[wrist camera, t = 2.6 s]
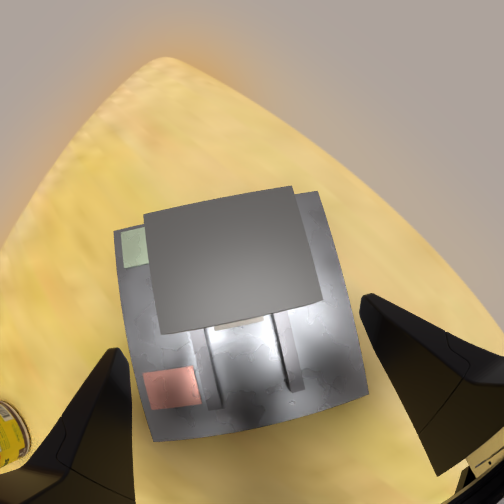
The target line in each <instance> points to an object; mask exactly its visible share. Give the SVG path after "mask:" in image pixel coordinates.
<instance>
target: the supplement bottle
mask: <svg viewBox="0 0 504 504" xmlns="http://www.w3.org/2000/svg"><path fill="white" fill-rule="evenodd" d="M29 446H30V441H29V435H28V432H27V429H26V427H25V425H24V423H23V421H22V419H21V418H20V416H19V415H18V413H17V412H16V411H15V410H14V409H13V408H12V407H11V406H10V405H8V404H7V403H5V402H2V401H0V468H1V467H3V466H5V465H7V464H9V463H11V462H13V461H16V460H18V459H20V458H22V457H23V456H25V455H26V454H27V452H28V450H29Z"/></svg>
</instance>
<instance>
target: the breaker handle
mask: <svg viewBox="0 0 504 504" xmlns="http://www.w3.org/2000/svg"><path fill="white" fill-rule="evenodd" d="M143 216H144V226H145V236H146V244H147V253H148V260H149V268H150V275H151V282H152V288H153V294H154V301H155V306H156V312H157V318H158V323H159V328H160V333H161V335H166V334H175V333H181V332H187V331H192V330H198V329H203V328H208V327H213V326H214V330H215V331H218V330H223V329H228V328H233V327H237V326H242V325H247V324H251V323H256V322H260V321H264V317H263V316H265V315H270V314H274V313H278V312H283V311H287V310H291V309H295V308H299V307H303V306H307V305H311V304H314V303H317V302H320V301H323V296H322V292H321V288H320V284H319V280H318V276H317V273H316V269H315V265H314V261H313V258H312V254H311V250H310V246H309V243H308V239H307V236H306V232H305V229H304V225H303V222H302V218H301V215H300V211H299V208H298V205H297V201H296V198H295V195H294V191H293V188H292V186H286V187H280V188H274V189H268V190H262V191H256V192H250V193H245V194H239V195H234V196H228V197H223V198H218V199H213V200H208V201H203V202H198V203H193V204H188V205H183V206H179V207H174V208H170V209H165V210H161V211H156V212H152V213H147V214H143Z"/></svg>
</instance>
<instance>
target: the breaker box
mask: <svg viewBox="0 0 504 504" xmlns="http://www.w3.org/2000/svg"><path fill="white" fill-rule="evenodd" d="M295 198H296V201H297V205H298V208H299V211H300V215H301V218H302V222H303V225H304V229H305V232H306V236H307V239H308V243H309V246H310V250H311V254H312V258H313V261H314V265H315V269H316V273H317V276H318V280H319V284H320V288H321V292H322V296H323V301H320V302H317V303H314V304H311V305H307V306H303V307H299V308H295V309H291V310H287V311H283V312H278V313H274V314H270V315H265V316H263V317H264V321H260V322H256V323H251V324H247V325H242V326H237V327H233V328H228V329H223V330H218V331H215V330H214V326H213V327H208V328H203V329H198V330H192V331H187V332H181V333H175V334H166V335H161V333H160V328H159V323H158V318H157V312H156V306H155V301H154V294H153V288H152V282H151V275H150V268H149V260H148V253H147V244H146V236H145V226H144V224H142V225H138V226H133V227H129V228H125V229H121V230H117V231H114V244H115V256H116V266H117V275H118V284H119V292H120V299H121V306H122V312H123V318H124V324H125V330H126V336H127V341H128V346H129V351H130V356H131V360H132V365H133V369H134V374H135V378H136V382H137V386H138V390H139V394H140V398H141V402H142V405H143V409H144V412H145V416H146V419H147V423H148V426H149V429H150V432H151V435H152V438H153V442H162V441H174V440H184V439H193V438H201V437H209V436H215V435H222V434H228V433H234V432H239V431H244V430H249V429H254V428H259V427H263V426H268V425H272V424H276V423H280V422H284V421H288V420H292V419H296V418H299V417H303V416H306V415H310V414H313V413H316V412H320V411H323V410H326V409H329V408H332V407H335V406H338V405H341V404H344V403H347V402H349V401H352V400H355V399H358V398H360V397H363V396H365V395H368V394H369V391H368V385H367V380H366V375H365V369H364V364H363V359H362V354H361V349H360V345H359V340H358V335H357V331H356V326H355V322H354V318H353V313H352V309H351V305H350V301H349V297H348V293H347V289H346V285H345V281H344V278H343V274H342V270H341V266H340V263H339V259H338V256H337V252H336V249H335V245H334V242H333V238H332V235H331V232H330V228H329V225H328V222H327V219H326V215H325V212H324V209H323V206H322V203H321V200H320V197H319V194H318V191H314V192H307V193H301V194H295Z"/></svg>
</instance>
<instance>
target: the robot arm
mask: <svg viewBox="0 0 504 504" xmlns="http://www.w3.org/2000/svg"><path fill="white" fill-rule="evenodd" d="M359 315H360V318H361V320H362V323H363V325H364V328H365V330H366V332H367V335H368V337H369V339H370V342H371V344H372V347H373V349H374V351H375V353H376V355H377V357H378V358H379V360H380V362H381V364H382V366H383V368H384V369H385V371H386V373H387V375H388V377H389V379H390V381H391V383H392V385H393V386H394V388H395V390H396V392H397V394H398V396H399V398H400V400H401V402H402V404H403V406H404V408H405V410H406V412H407V414H408V416H409V418H410V420H411V422H412V424H413V426H414V428H415V430H416V432H417V434H418V437H419V439H420V441H421V443H422V445H423V447H424V449H425V451H426V454H427V456H428V458H429V460H430V462H431V465H432V467H433V469H434V471H435V473H436V475H437V477H438V476H440V475H441V474H443V473H444V472H446V471H447V470H449V469H450V468H452V467H453V466H455V465H456V464H458V463H459V462H461V461H462V460H463V459H466V460H467V462H468V464H469V466H468V467H466V468H465V469H464V470H462V472H461V476H460V479H459V482H458V485H457V488H456V491H455V494H454V495H453V496H452V497H450V498H449V499H447V500H446V501H444V502H443V503H441V504H504V357H503V356H499V355H497V354H494V353H492V352H489V351H487V350H485V349H482V348H480V347H477V346H475V345H473V344H471V343H468V342H466V341H464V340H462V339H460V338H458V337H456V336H454V335H452V334H450V333H448V332H445V331H444V330H443V329H441V328H439V327H437V326H435V325H433V324H431V323H429V322H427V321H426V320H424V319H422V318H420V317H418V316H416V315H414V314H412V313H410V312H408V311H406V310H405V309H403V308H401V307H399V306H397V305H395V304H393V303H391V302H389V301H387V300H385V299H383V298H381V297H379V296H377V295H376V294H373V293H369V294H366V295H363V296H362V298H361V304H360V310H359ZM0 504H136V502H135V490H134V477H133V457H132V397H131V385H130V371H129V363H128V361H127V359H126V358H125V356H124V355H123V353H122V352H121V350H120V349H119V348H110V349H108V350H107V351H106V352H105V354H104V355H103V356H102V358H101V359H100V361H99V362H98V363H97V365H96V366H95V367H94V369H93V370H92V372H91V373H90V374H89V376H88V377H87V379H86V380H85V382H84V383H83V384H82V386H81V387H80V389H79V390H78V392H77V393H76V394H75V396H74V397H73V399H72V400H71V402H70V403H69V405H68V406H67V408H66V409H65V411H64V412H63V414H62V417H60V418H59V420H58V421H57V423H56V424H55V426H54V427H53V428H52V430H51V431H50V433H49V434H48V436H47V437H46V438H45V439H44V441H43V442H42V443H41V445H40V446H39V447H38V448H37V450H36V451H35V452H34V454H33V455H32V456H31V457H30V459H29V460H28V461H27V462H26V463H25V464H24V465H23V466H22V467H20V468H18V469H16V470H13V471H10V472H7V473H4V474H0Z"/></svg>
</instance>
